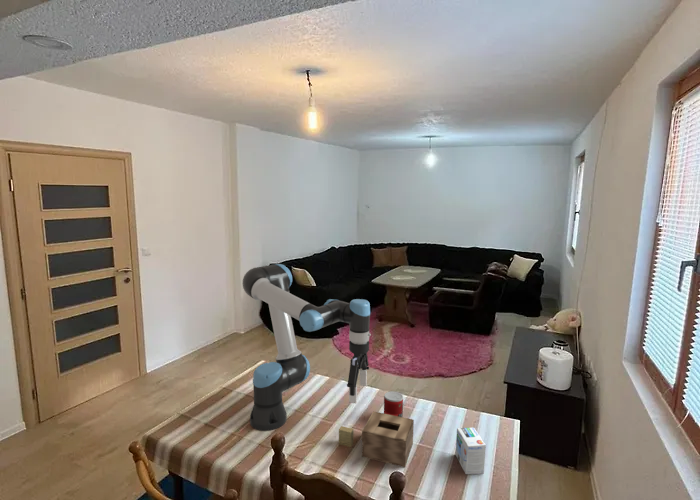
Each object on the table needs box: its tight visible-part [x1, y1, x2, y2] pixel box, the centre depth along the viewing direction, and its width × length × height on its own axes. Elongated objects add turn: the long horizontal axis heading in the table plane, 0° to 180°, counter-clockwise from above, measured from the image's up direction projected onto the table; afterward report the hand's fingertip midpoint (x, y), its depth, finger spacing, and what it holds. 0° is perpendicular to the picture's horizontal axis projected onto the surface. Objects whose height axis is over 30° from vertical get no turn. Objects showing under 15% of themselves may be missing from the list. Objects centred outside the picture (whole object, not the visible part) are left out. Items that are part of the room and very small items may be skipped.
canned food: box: [383, 390, 404, 418], centre depth 165 cm, size 8×8×11 cm
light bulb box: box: [455, 427, 487, 475], centre depth 138 cm, size 11×7×11 cm, turn 5°
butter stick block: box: [338, 425, 354, 448], centre depth 149 cm, size 5×2×6 cm, turn 70°
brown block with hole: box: [361, 411, 415, 468], centre depth 145 cm, size 16×14×10 cm
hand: (358, 393), depth 150 cm, fingers open, 13 cm apart
